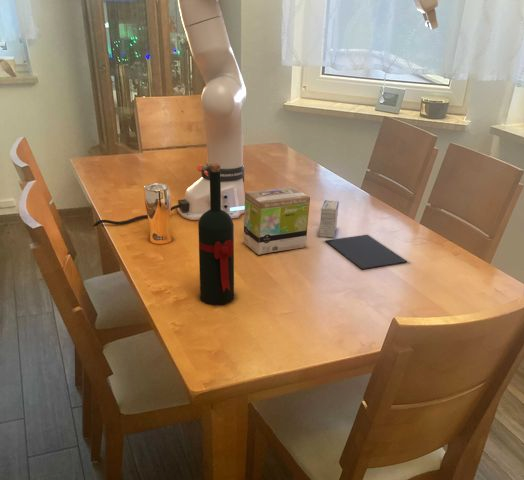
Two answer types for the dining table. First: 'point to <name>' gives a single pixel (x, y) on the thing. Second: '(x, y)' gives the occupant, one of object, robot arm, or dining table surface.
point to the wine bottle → (216, 248)
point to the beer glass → (158, 212)
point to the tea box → (275, 219)
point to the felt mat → (365, 252)
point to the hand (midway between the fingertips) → (432, 27)
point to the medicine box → (328, 218)
